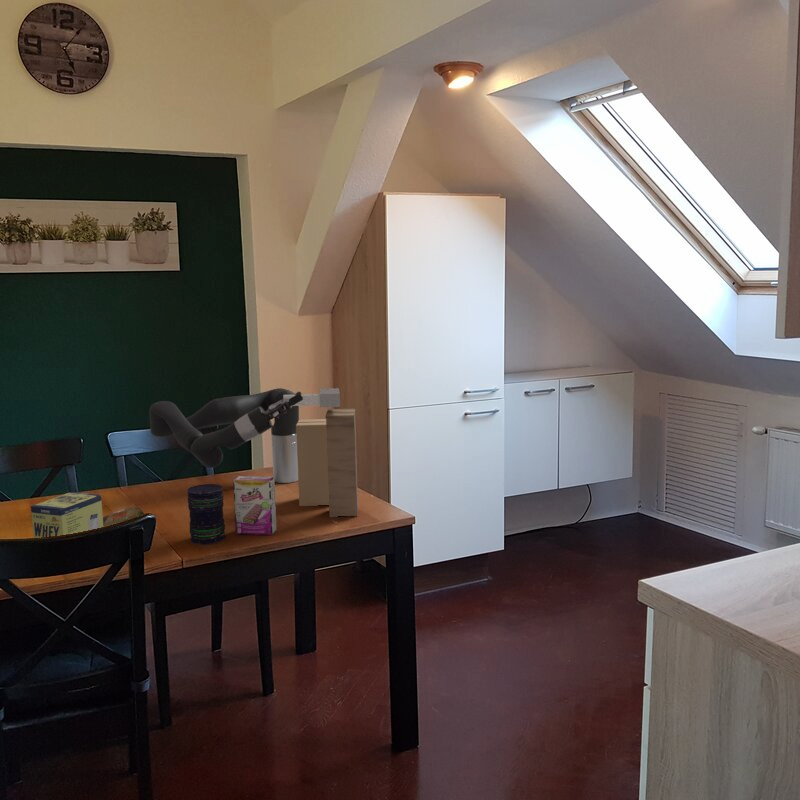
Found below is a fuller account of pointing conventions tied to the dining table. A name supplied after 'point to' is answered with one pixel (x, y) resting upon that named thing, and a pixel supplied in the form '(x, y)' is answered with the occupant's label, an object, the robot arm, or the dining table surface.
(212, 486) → the storage jar
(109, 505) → the dining table surface
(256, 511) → the candy bar box
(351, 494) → the tall wooden plank
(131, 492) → the dining table surface
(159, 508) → the dining table surface
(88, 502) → the protein box
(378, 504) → the dining table surface
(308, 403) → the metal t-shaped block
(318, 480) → the cardboard box
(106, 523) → the tin
